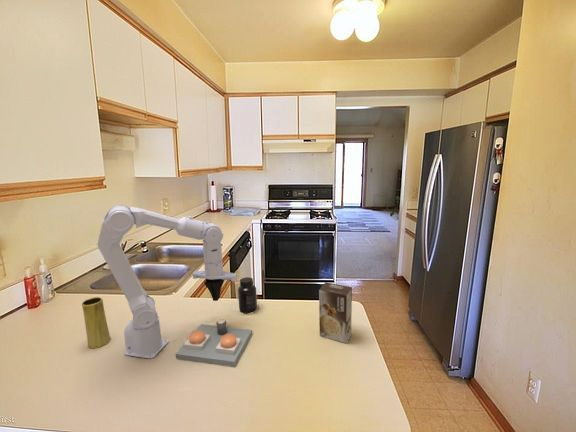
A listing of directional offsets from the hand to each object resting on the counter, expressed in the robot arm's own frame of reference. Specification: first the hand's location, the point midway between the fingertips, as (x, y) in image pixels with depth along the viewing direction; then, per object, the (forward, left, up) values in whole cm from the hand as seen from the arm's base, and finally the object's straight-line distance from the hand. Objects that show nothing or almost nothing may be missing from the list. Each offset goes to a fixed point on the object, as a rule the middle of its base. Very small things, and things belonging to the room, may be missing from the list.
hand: (216, 299), depth 95 cm
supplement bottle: (+6, +13, -11) cm, 18 cm away
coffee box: (+39, +3, -11) cm, 41 cm away
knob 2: (+9, -11, -10) cm, 17 cm away
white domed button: (+4, -4, -9) cm, 10 cm away
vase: (-34, -14, -11) cm, 38 cm away
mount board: (+4, -9, -10) cm, 14 cm away
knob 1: (-2, -11, -10) cm, 15 cm away
